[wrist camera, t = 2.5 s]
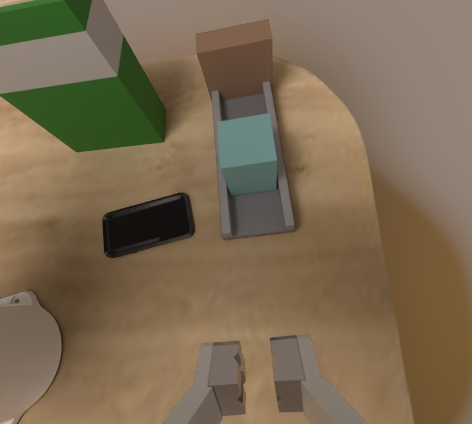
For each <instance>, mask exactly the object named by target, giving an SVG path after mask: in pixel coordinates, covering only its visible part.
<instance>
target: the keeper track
mask: <svg viewBox="0 0 472 424" xmlns="http://www.w3.org/2000/svg"><path fill="white" fill-rule="evenodd" d="M196 45H197V55H198V59H199V62H200V65H201V68H202V71H203V75H204V78H205V81H206V84H207V87H208V91H209V94H210V97H211V100H212V106H213V120H214V133H215V147H216V160H217V173H218V187H219V200H220V214H221V227H222V238H223V240H230V239H239V238H247V237H255V236H264V235H272V234H280V233H289V232H295V231H296V225H295V219H294V214H293V208H292V202H291V196H290V191H289V185H288V179H287V173H286V168H285V162H284V156H283V150H282V145H281V139H280V133H279V127H278V122H277V116H276V110H275V105H274V99H273V93H272V35H271V30H270V25H269V20H268V19H267V20H262V21H257V22H253V23H247V24H242V25H237V26H233V27H228V28H223V29H218V30H213V31H208V32H204V33H198V34H196ZM267 113H269V114H270V120H271V126H272V132H273V138H274V144H275V150H276V156H277V180H276V190H270V191H263V192H256V193H249V194H241V195H234V196H231V193H230V191H229V189H228V186H227V184H226V181H225V179H224V176H223V174H222V171H221V169H220V158H219V145H218V132H217V122H220V121H226V120H232V119H237V118H243V117H249V116H255V115H261V114H267Z"/></svg>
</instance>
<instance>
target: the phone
mask: <svg viewBox="0 0 472 424" xmlns="http://www.w3.org/2000/svg"><path fill="white" fill-rule="evenodd" d="M102 221H103V239H104V253H105V255H106V256H107V257H110V258H115V257H119V256H122V255H127V254H131V253H135V252H137V251H141V250H145V249H149V248H152V247H156V246H160V245H164V244H167V243H171V242H175V241H179V240H182V239H186V238H189V237H191V236H192V235H193V234H194V224H193V219H192V213H191V208H190V203H189V198H188V196H187V195H186V194H185V193H177V194H174V195H170V196H166V197H163V198H159V199H156V200H152V201H148V202H145V203H141V204H138V205H134V206H130V207H127V208H123V209H119V210H116V211H112V212H109V213H106V214H105V215H104V217H103V220H102Z"/></svg>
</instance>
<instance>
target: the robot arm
mask: <svg viewBox="0 0 472 424" xmlns="http://www.w3.org/2000/svg"><path fill="white" fill-rule="evenodd" d="M270 344H271V353H272V360H273V361H272V365H273V374H274V383H275V389H276V394H277V402H278V408H279V412H304V415H305V416H306V417H307V419H308V420H309V422H310V423H311V424H367V422H366V421H365V420H364V419H363V418H362V417H361V416H360V415H359V414H358V413H357V412H356V411H355V410H354V408H353V407H352V406H351V405H350V404H349V403H348V402H347V401H346V400H345V399H344V398H343V397H342V395H341V394H340V393H339V392H338V391H337V390H336V389H335V388H334V387H333V386H332V385H331V384H330V383H329V381H328V380H327V379H322V377H321V374H320V370H319V366H318V362H317V359H316V355H315V351H314V347H313V344H312V340H311V337H310V335H309V334H308V335H298V336H295V335H293V336H283V337H273V338H270ZM61 350H62V342H61V334H60V330H59V327H58V325H57V323H56V321H55V319H54V318H53V316H52V315H51V314H50V313H49V312H47V311H46V310H45V309H43V308H42V307H41V306H40V304H39V302H38V300H37V297H36V295H35V294H34V293H33V292H32V291H25V292H21V293H18V294H14V295H11V296H8V297H5V298H2V299H0V424H17V422H18V421H19V419H20V418H21V416H22V414H23V413H24V412H25V411H26V410H27V409H28V408H29V407H31V406H32V405H33V404H34V403H35V402H37V401H38V400H39V399H40V398H41V396H42V395H43V394H44V393H45V392H46V390H47V389H48V387H49V386H50V384H51V382H52V381H53V379H54V377H55V374H56V372H57V369H58V366H59V362H60V358H61ZM245 381H246V376H245V361H244V356H243V354H242V353H241V343H240V341H229V342H212V343H202V344H201V346H200V349H199V355H198V361H197V367H196V372H195V378H194V384H193V388H189V389H188V390H187V391H186V393H185V394H184V395H183V397H182V398H181V399H180V401H179V402H178V403H177V405H176V406H175V407H174V409H173V410H172V412H171V413H170V414H169V416H168V417H167V418H166V420H165V421H164V422H163V424H220V422H221V420H222V418H223V417H222V416H229V415H241V414H246V393H245V389H244V385H243V384H244V383H245Z"/></svg>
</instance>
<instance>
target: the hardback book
mask: <svg viewBox="0 0 472 424" xmlns="http://www.w3.org/2000/svg"><path fill="white" fill-rule="evenodd" d="M0 96H1V97H2V98H4V99H5V100H6V101H8V102H9V103H10V104H12V105H13V106H15V107H16V108H17V109H19V110H20V111H21V112H23V113H24V114H25V115H27V116H28V117H29V118H31V119H32V120H34V121H35V122H36V123H38V124H39V125H40V126H42V127H43V128H44V129H46V130H47V131H48V132H50V133H51V134H52V135H54V136H55V137H57V138H58V139H59V140H61V141H62V142H63V143H65V144H66V145H67V146H69V147H70V148H71V149H73V150H74V151H76V152H83V151H92V150H100V149H109V148H118V147H126V146H135V145H143V144H152V143H161V142H164V131H165V115H166V109H165V107H164V105H163V104H162V102H161V100H160V98H159V97H158V95H157V93H156V91H155V90H154V88H153V86H152V84H151V83H150V81H149V79H148V77H147V76H146V74H145V72H144V70H143V69H142V67H141V65H140V63H139V62H138V60H137V58H136V56H135V55H134V53H133V51H132V49H131V48H130V46H129V44H128V42H127V41H126V39H125V37H124V35H123V34H122V32H121V30H120V29H119V27H118V25H117V23H116V21H115V20H114V18H113V16H112V14H111V13H110V11H109V9H108V7H107V6H106V4H105V2H104V0H0Z"/></svg>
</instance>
